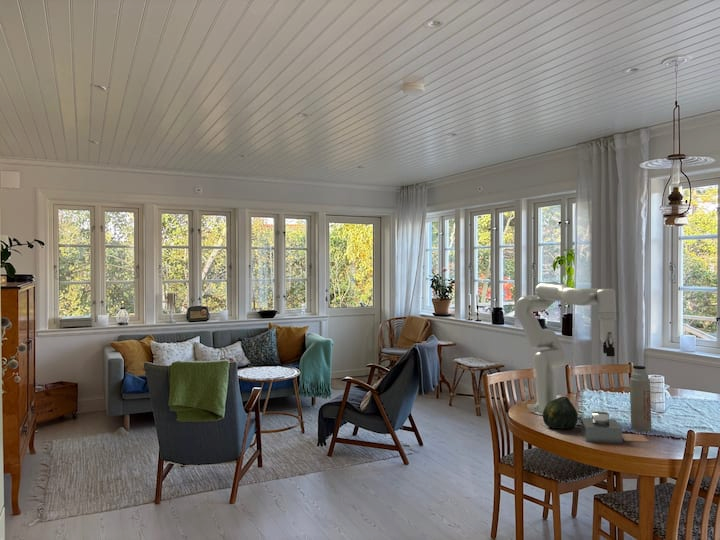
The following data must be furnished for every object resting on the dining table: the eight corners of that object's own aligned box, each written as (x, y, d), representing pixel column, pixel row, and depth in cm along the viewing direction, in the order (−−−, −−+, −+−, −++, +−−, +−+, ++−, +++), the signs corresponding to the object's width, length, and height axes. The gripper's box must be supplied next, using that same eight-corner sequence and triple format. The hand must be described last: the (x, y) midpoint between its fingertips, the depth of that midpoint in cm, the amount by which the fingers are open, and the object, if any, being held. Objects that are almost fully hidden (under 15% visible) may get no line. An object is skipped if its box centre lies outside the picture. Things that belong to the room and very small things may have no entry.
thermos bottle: (655, 430, 233) (653, 367, 233) (640, 432, 231) (638, 368, 231) (641, 425, 241) (639, 364, 241) (627, 427, 239) (625, 365, 239)
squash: (532, 412, 248) (547, 392, 239) (558, 409, 254) (573, 390, 245) (547, 438, 238) (564, 419, 229) (574, 435, 244) (590, 416, 235)
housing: (585, 441, 221) (585, 426, 222) (580, 431, 235) (580, 417, 235) (622, 443, 218) (622, 428, 218) (615, 433, 231) (615, 419, 231)
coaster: (624, 440, 221) (624, 440, 221) (619, 434, 230) (619, 433, 230) (648, 442, 219) (648, 441, 219) (642, 435, 227) (642, 434, 227)
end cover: (593, 439, 224) (592, 414, 224) (591, 434, 231) (590, 410, 231) (611, 440, 222) (610, 415, 222) (608, 435, 229) (607, 410, 229)
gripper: (595, 315, 247) (597, 352, 246) (600, 317, 230) (602, 357, 230) (613, 314, 245) (615, 352, 244) (619, 317, 228) (621, 357, 228)
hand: (608, 354), depth 237 cm, fingers open, 9 cm apart
